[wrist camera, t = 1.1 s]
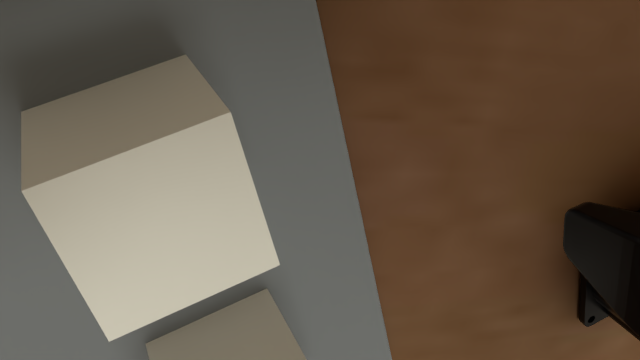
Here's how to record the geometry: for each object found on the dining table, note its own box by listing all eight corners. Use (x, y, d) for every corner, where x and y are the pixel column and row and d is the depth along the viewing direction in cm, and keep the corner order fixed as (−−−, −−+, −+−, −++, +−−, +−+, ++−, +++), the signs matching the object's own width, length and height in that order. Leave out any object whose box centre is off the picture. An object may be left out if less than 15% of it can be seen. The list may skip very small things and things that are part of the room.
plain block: (231, 186, 22) (280, 264, 18) (91, 243, 20) (108, 341, 16) (185, 54, 19) (230, 111, 15) (21, 111, 18) (21, 191, 14)
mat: (386, 352, 30) (392, 361, 29) (105, 495, 27) (106, 507, 26) (190, -546, 14) (197, -561, 13) (-599, -459, 10) (-630, -474, 10)
